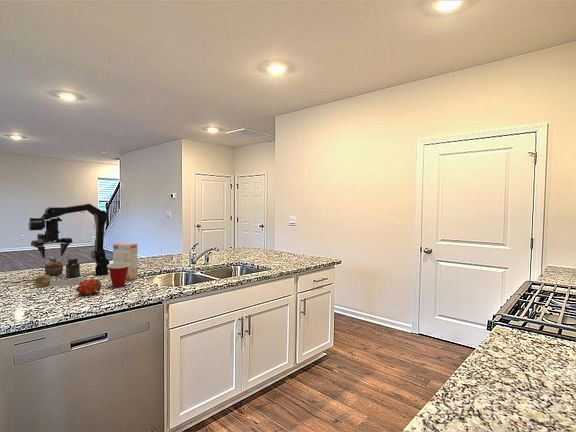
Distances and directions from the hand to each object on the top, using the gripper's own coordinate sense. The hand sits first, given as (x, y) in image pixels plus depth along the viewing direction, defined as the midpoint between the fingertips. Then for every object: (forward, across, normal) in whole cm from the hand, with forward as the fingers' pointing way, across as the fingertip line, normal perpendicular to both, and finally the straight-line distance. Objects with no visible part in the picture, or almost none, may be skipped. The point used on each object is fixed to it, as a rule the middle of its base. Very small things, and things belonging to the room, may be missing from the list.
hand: (52, 257), depth 189 cm
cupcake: (+14, -8, -17) cm, 23 cm away
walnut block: (+12, +10, +12) cm, 20 cm away
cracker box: (+14, -26, +27) cm, 40 cm away
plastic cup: (+14, -14, +40) cm, 44 cm away
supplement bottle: (+14, -8, +4) cm, 17 cm away
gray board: (+14, +2, +13) cm, 19 cm away
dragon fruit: (+14, +4, +43) cm, 45 cm away
